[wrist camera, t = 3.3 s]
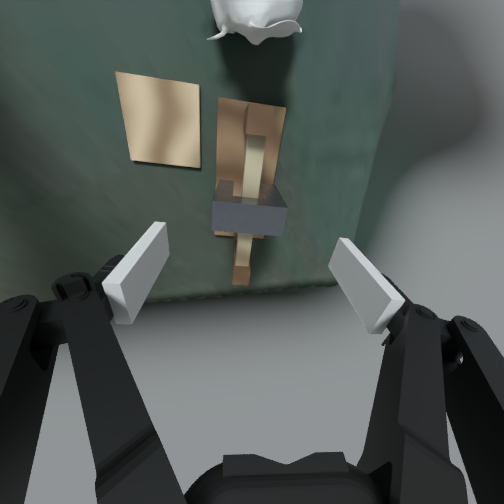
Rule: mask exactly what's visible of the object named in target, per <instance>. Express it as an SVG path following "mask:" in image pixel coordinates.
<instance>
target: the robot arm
mask: <svg viewBox="0 0 504 504" xmlns="http://www.w3.org/2000/svg"><path fill="white" fill-rule="evenodd" d="M169 255H170V254H169V245H168V236H167V227H166V223H165V222H154V223H153V224H152V226H151V227H150V228H149V229H148V230H147V231H146V232H145V234H144V235H143V236H142V237H141V238H140V239H139V241H138V242H137V243H136V244H135V245H134V246H133V247H132V249H131V250H130V251H129V252H128V253H127V254H126V255H117V256H115V257H113V258H112V259H110V260H109V261H108V262H107V263H106V264H105V265H104V266H103V267H102V268H101V269H100V271H98V272H97V273H96V274H95V276H94V277H93V278H92V277H91V276H90V275H89V274H88V273H84V272H77V273H72V274H68V275H65V276H62V277H61V278H59V279H57V280H56V281H55V282H54V283H53V284H52V290H53V292H54V294H55V296H56V298H57V300H52V301H45V302H39V301H38V299H37V298H36V297H35V296H33V295H21V296H17V297H13V298H10V299H8V300H5V301H3V302H1V303H0V504H24V501H25V496H26V492H27V487H28V483H29V478H30V474H31V469H32V465H33V460H34V456H35V451H36V447H37V441H38V438H39V433H40V428H41V424H42V419H43V415H44V411H45V406H46V401H47V397H48V392H49V388H50V383H51V379H52V374H53V370H54V365H55V361H56V356H57V352H58V347H59V345H60V344H64V343H68V345H69V350H70V354H71V359H72V363H73V367H74V372H75V377H76V381H77V386H78V390H79V395H80V400H81V404H82V409H83V413H84V418H85V422H86V426H87V431H88V436H89V440H90V445H91V449H92V453H93V458H94V463H95V468H96V476H97V477H96V481H95V491H96V497H97V503H98V504H468V498H467V490H466V483H465V479H464V476H463V474H462V472H461V470H460V469H459V468H457V467H456V466H454V465H453V464H452V463H451V461H450V458H449V447H448V434H447V421H446V412H447V415H448V418H449V421H450V424H451V427H452V430H453V433H454V436H455V439H456V442H457V445H458V448H459V451H460V454H461V457H462V460H463V463H464V466H465V469H466V472H467V475H468V478H469V481H470V484H471V487H472V490H473V493H474V495H475V499H476V502H477V504H504V357H503V356H502V355H501V353H500V352H499V350H498V349H497V347H496V346H495V344H494V343H493V341H492V340H491V338H490V337H489V336H488V334H487V332H486V331H485V330H484V329H483V328H482V327H481V326H480V325H478V324H477V323H476V322H475V321H473V320H471V319H468V318H466V317H463V316H455V317H454V318H453V319H452V320H451V321H447V320H443V319H440V318H438V317H437V315H436V314H435V313H434V312H432V311H431V310H430V309H428V308H426V307H424V306H421V305H418V304H413V303H412V302H411V301H410V300H409V299H408V298H407V296H406V295H404V293H403V292H402V291H401V290H400V289H398V287H397V286H396V285H394V283H393V282H392V281H391V280H390V279H389V278H388V277H387V276H385V275H384V274H382V273H380V272H379V271H378V270H377V269H376V268H375V267H374V266H373V265H372V264H371V263H370V261H369V260H367V258H366V257H365V256H364V255H363V254H362V253H361V252H360V251H359V250H358V249H357V247H355V245H354V244H353V243H352V242H351V241H350V240H349V239H347V238H339V239H338V242H337V244H336V247H335V250H334V252H333V255H332V257H331V260H330V262H329V265H328V267H329V269H330V270H331V272H332V273H333V275H334V277H335V278H336V280H337V282H338V283H339V285H340V286H341V288H342V290H343V292H344V293H345V295H346V296H347V298H348V300H349V301H350V303H351V305H352V306H353V308H354V309H355V311H356V313H357V314H358V316H359V318H360V319H361V321H362V323H363V324H364V326H365V328H366V329H367V331H368V333H369V334H382V333H383V331H384V330H385V328H386V327H387V328H388V330H389V331H390V334H389V335H388V336H387V338H386V339H385V340H384V342H383V343H382V346H384V345H385V344H386V345H385V350H384V355H383V360H382V365H381V369H380V374H379V379H378V384H377V388H376V394H375V398H374V403H373V408H372V412H371V417H370V422H369V427H368V432H367V437H366V442H365V446H364V450H363V454H362V456H361V458H360V460H359V462H358V464H357V466H354V465H352V464H350V463H348V462H346V460H345V457H344V454H343V452H320V453H319V452H318V453H313V454H311V455H309V456H306V457H304V458H302V459H300V460H297V461H295V462H293V463H290V464H287V465H286V464H282V463H279V462H276V461H273V460H270V459H266V458H264V457H261V456H258V455H255V454H242V455H241V454H240V455H223V462H222V463H221V464H218V465H216V466H214V467H213V468H211V469H209V470H208V471H206V472H205V473H204V474H202V475H201V476H200V477H199V478H198V479H197V480H196V481H195V482H194V483H193V484H192V485H191V487H190V488H189V489H188V491H187V492H186V493H185V494H184V495H183V493H182V490H181V488H180V486H179V483H178V481H177V479H176V476H175V474H174V471H173V469H172V467H171V465H170V462H169V460H168V458H167V455H166V453H165V450H164V448H163V445H162V443H161V441H160V438H159V436H158V434H157V432H156V430H155V428H154V426H153V424H152V421H151V419H150V416H149V414H148V412H147V410H146V407H145V405H144V402H143V400H142V397H141V395H140V393H139V390H138V388H137V386H136V383H135V381H134V379H133V376H132V374H131V371H130V369H129V367H128V364H127V362H126V359H125V358H124V355H123V353H122V350H121V348H120V345H119V343H118V340H117V338H116V336H115V334H114V331H113V329H112V326H111V324H110V321H111V319H112V317H114V320H115V322H116V324H127V325H132V323H133V321H134V320H135V318H136V316H137V314H138V312H139V310H140V308H141V307H142V305H143V303H144V301H145V299H146V297H147V296H148V294H149V292H150V290H151V288H152V286H153V284H154V283H155V281H156V279H157V277H158V275H159V273H160V271H161V270H162V268H163V266H164V264H165V262H166V260H167V258H168V257H169ZM462 357H463V362H462V363H461V361H460V359H461V358H462Z"/></svg>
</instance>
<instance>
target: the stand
mask: <svg viewBox="0 0 504 504" xmlns="http://www.w3.org/2000/svg"><path fill="white" fill-rule="evenodd" d="M285 112H286V108H285V107H279V106H272V105H266V104H259V103H253V102H246V101H240V100H233V99H227V98H220V97H218V122H217V161H216V188H217V185H218V182H219V179H223V180H232V181H234V188H233V196H240V197H250V198H259V196H260V189H261V184H268V185H273V182H274V176H275V170H276V164H277V159H278V153H279V147H280V141H281V135H282V130H283V124H284V118H285ZM215 235H225V236H234V255H233V280H232V285H249V280H250V273H251V272H250V252H251V244H252V238H262V239H264V235H259V234H247V233H235V232H223V231H215Z"/></svg>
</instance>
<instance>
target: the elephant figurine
mask: <svg viewBox="0 0 504 504" xmlns="http://www.w3.org/2000/svg"><path fill="white" fill-rule="evenodd" d="M210 2H211V6H212V10H213V14H214V17H215V21H216V24H217V27H218V29H219V30H220V31H221V32H220V33H219V34H217V35H215V36H213V37H210V38H208V39H207V40H216V39H218V38H221V37H223V36H225V34H226V33H235V32H238V33H240V34H241V35H244V36H245V37H246V38H247V39H248V40H249V42H250V43H252V44H254V45H258V44H260V43H261V42H262V41H263V40H265V39H266V38H268V37H286V36H289V35H291V34H293V33H294V32H300V33H301V32H302V29H301V27H300V26H299V24H298V23H297V22H295V20H296V19H297V18H298V16H299V13H300V11H301V9H302V5H303V0H210Z"/></svg>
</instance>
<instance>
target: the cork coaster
mask: <svg viewBox="0 0 504 504" xmlns="http://www.w3.org/2000/svg"><path fill="white" fill-rule="evenodd" d="M115 73H116V79H117V85H118V90H119V96H120V101H121V107H122V112H123V118H124V123H125V129H126V135H127V140H128V146H129V151H130V157H131V160H135V161H144V162H152V163H161V164H170V165H178V166H187V167H196V168H201V149H200V85H197V84H190V83H184V82H178V81H171V80H165V79H159V78H153V77H146V76H140V75H134V74H127V73H121V72H115Z"/></svg>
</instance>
